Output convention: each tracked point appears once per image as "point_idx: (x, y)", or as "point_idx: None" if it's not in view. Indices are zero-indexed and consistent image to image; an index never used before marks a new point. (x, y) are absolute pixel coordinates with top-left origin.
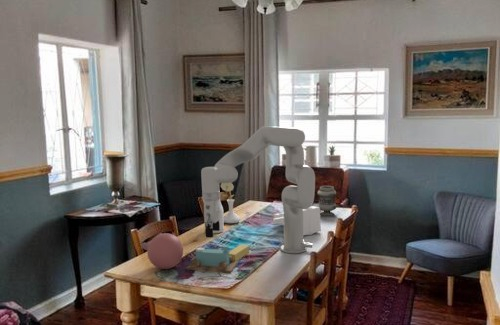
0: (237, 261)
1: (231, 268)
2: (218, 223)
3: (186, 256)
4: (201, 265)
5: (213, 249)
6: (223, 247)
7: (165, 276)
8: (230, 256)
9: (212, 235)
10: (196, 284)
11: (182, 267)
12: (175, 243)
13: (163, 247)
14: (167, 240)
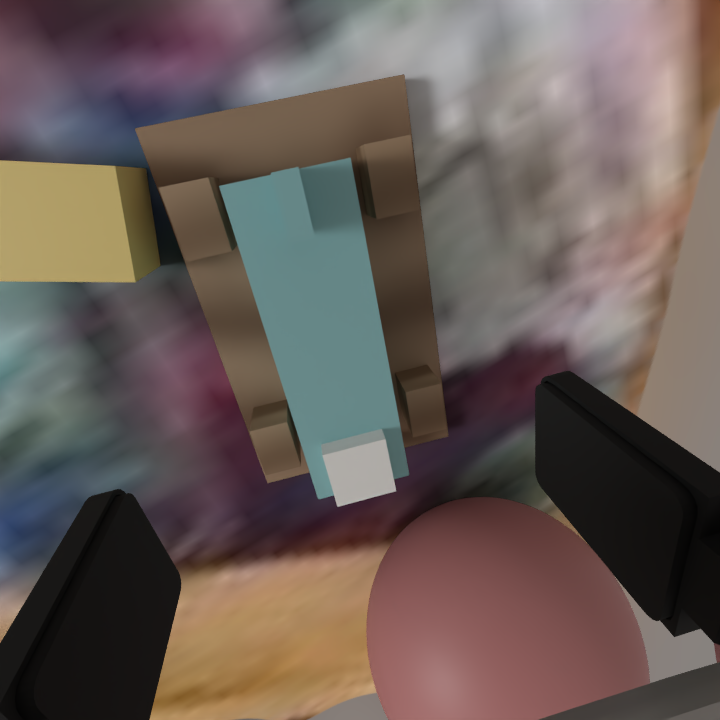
0: (149, 128)
1: (347, 99)
2: (49, 662)
3: (236, 553)
4: None
5: (282, 375)
6: (313, 232)
7: None
8: (185, 196)
9: (590, 388)
10: (650, 239)
11: (414, 468)
12: (581, 637)
13: (643, 646)
14: None
